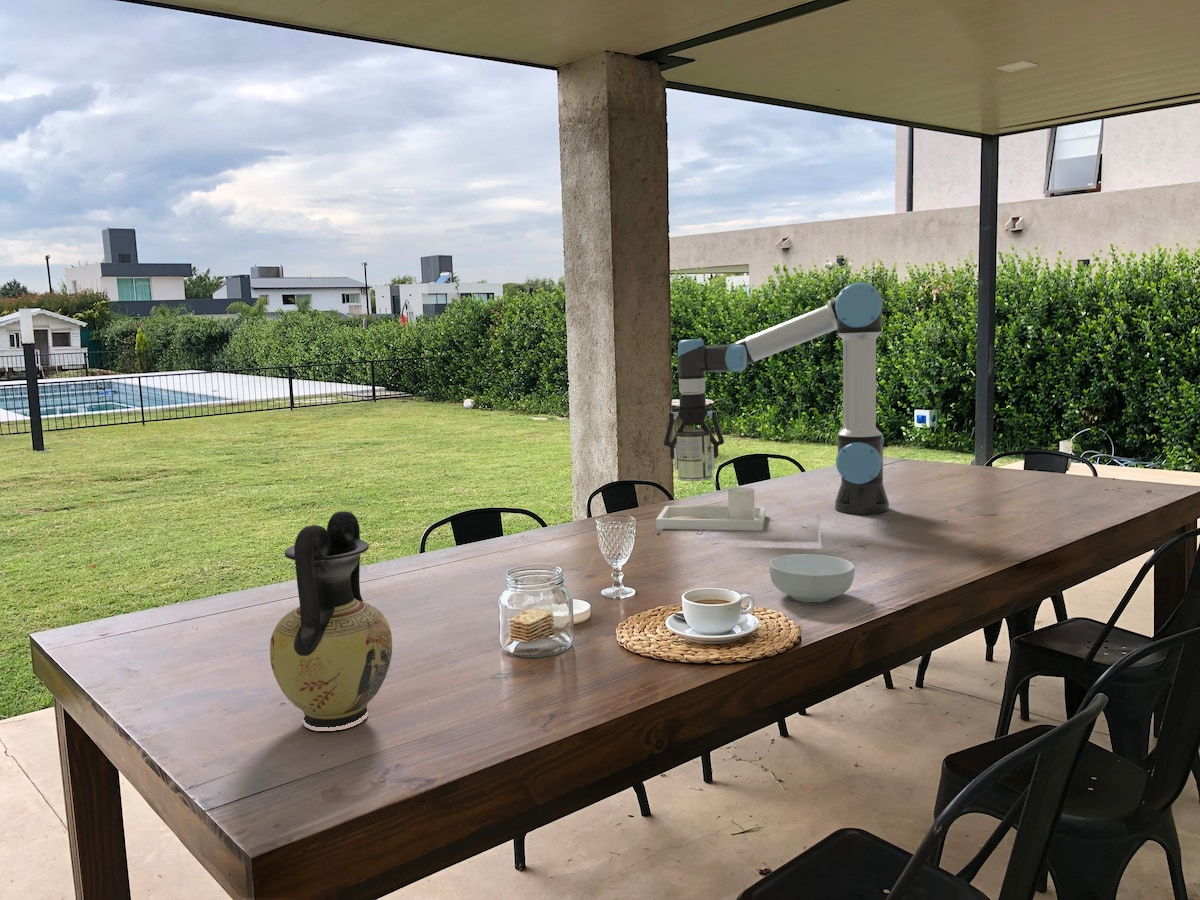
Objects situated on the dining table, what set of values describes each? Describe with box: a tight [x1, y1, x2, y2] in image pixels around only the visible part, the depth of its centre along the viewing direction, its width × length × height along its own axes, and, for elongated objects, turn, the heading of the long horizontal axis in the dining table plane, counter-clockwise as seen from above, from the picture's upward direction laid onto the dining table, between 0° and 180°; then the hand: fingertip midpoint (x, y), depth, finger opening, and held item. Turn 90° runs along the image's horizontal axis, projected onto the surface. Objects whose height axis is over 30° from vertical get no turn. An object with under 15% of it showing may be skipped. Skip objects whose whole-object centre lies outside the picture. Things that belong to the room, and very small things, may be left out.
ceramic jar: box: [727, 486, 756, 520], centre depth 250 cm, size 7×7×9 cm
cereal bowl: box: [769, 553, 855, 604], centre depth 187 cm, size 17×17×7 cm
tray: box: [655, 505, 766, 535], centre depth 252 cm, size 28×18×4 cm, turn 78°
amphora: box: [269, 510, 393, 728], centre depth 133 cm, size 18×17×30 cm
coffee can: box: [675, 428, 714, 482], centre depth 270 cm, size 10×10×14 cm
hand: (694, 469), depth 271 cm, fingers closed on coffee can, 10 cm apart
